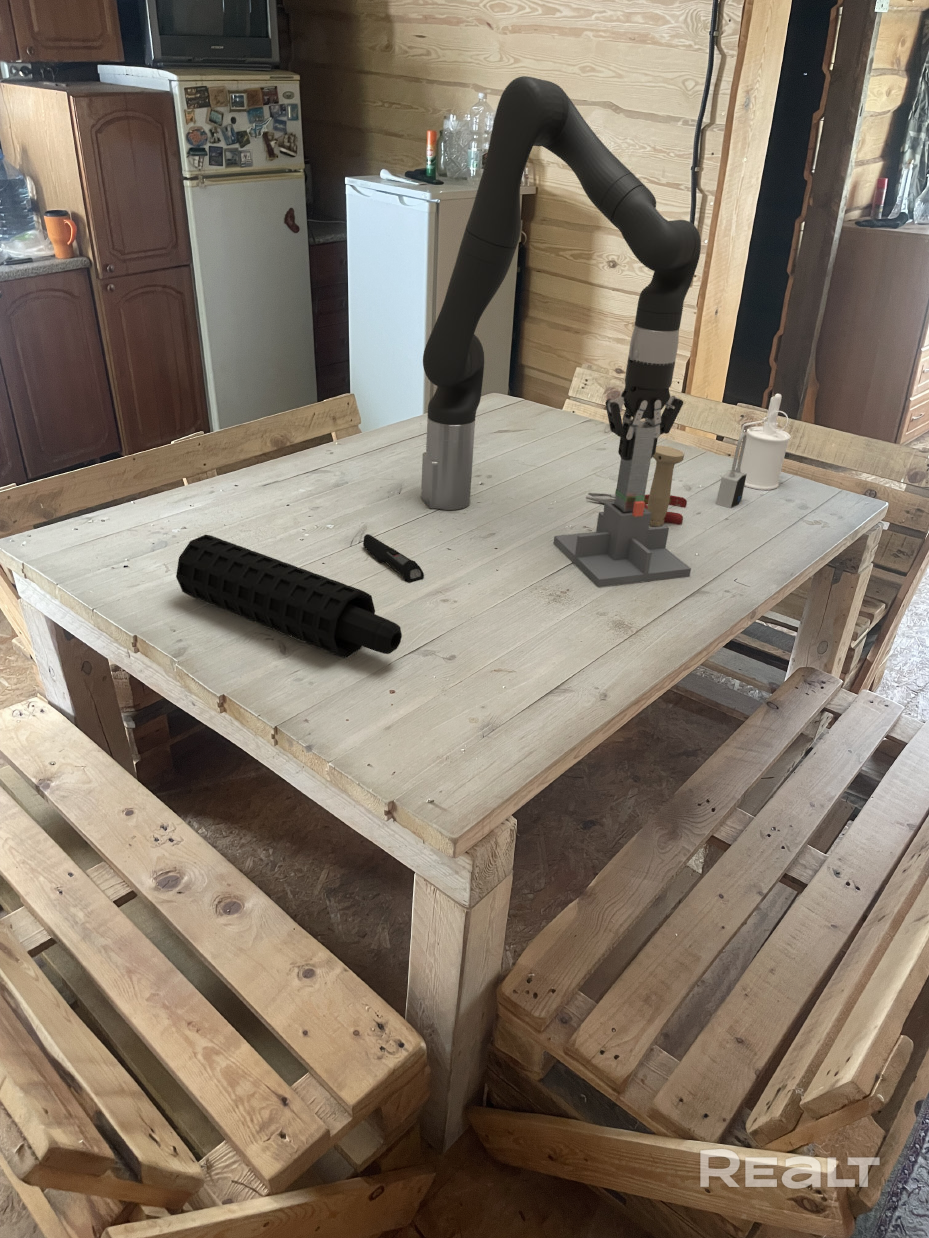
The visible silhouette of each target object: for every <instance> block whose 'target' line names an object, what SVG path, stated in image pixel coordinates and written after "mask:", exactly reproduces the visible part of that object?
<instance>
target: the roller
mask: <svg viewBox="0 0 929 1238" xmlns="http://www.w3.org/2000/svg"><path fill="white" fill-rule="evenodd" d="M175 578H176V580H177V582H178V585H179V587H180V589H181V592H182V593H184V594H185V595H188V596H190V597H192V598H195V599H197V600H199V601H202V602H205V603H207V604H209V605H212V606H214V607H217V608H218V609H219V608H220V609H222V610H224V611H227V612H230V613H232V614H234V615H236V616H238V617H242V618H244V619H246V620H248V621H251V622H254V623H257V624H259V625H261V626H263V627H265V628H268V629H270V630H274V631H275V632H278V633H280V634H283V635H285V636H288V637H291V638H292V639H295V640H298V641H300V642H303V643H305V644H307V645H310V646H312V647H315V648H317V649H320V650H323V651H325V652H326V653H327V652H328V653H330V654H332V655H334V656H337V657H340V658H341V657H342V658H345V659H347V658H349V657H351V656H352V655H354V654H355V653H357V652H358V651H359V650H361V649H362V648H365V649H369V650H371V651H374V652H377V653H381V654H385V655H391V654H392V653H393V652H395V651H396V650H397V649H398V648H399V645H400V644H401V641H402V637H403V634H402V630H401V626H400V625H399V624H398V623H396V622H394V621H392V620H390V619H387V618H385V617H383V616H380V615H378V614H375V613H376V609H375V605H374V601H373V597H372V596H373V595H371V594H370V593H368V592H366V591H364V590H362V589H360V588H357V587H354V586H352V585H347V584H345V583H344V582H340V581H337V580H335V579H331V578H329V577H327V576H323V575H321V574H319V573H314V572H313V571H311V570H307V569H304V568H302V567H299V566H295V565H293V564H290V563H288V562H284V561H282V560H279V559H276V558H274V557H271V556H267V555H266V554H263V553H259V552H257V551H254V550H251V549H249V548H246V547H243V546H240V545H237V544H235V543H232V542H231V541H227V540H224V539H221V538H219V537H216V536H214V535H210V534H204V535H201V536H199V537H197V538H196V537H195V538H194V539H192V540H190V541H189V542H188V544H187V545H186V546H185V548H184V549H183V551H182V552H181V554H180V555H179V556H178V562H177V569H176V573H175Z"/></svg>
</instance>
